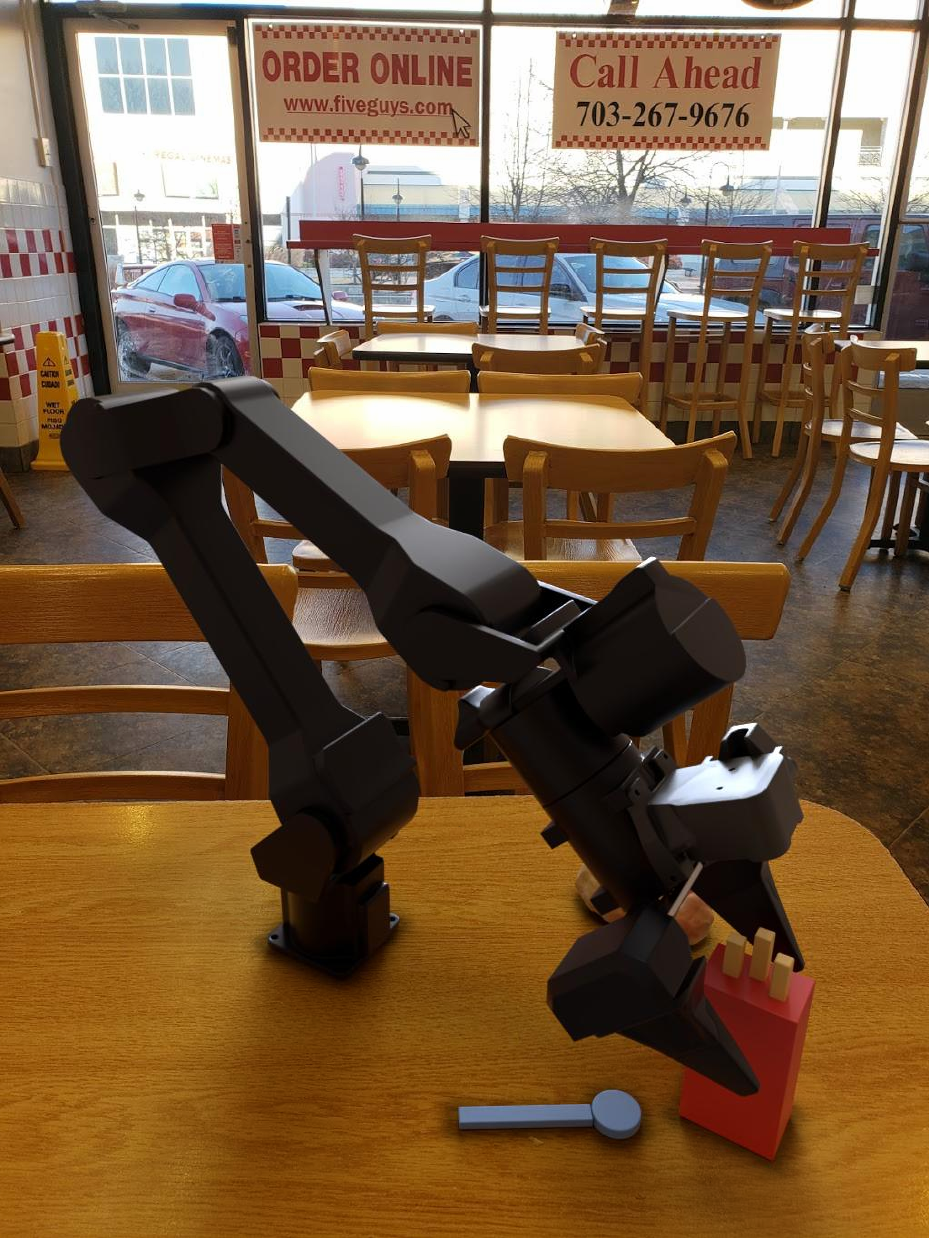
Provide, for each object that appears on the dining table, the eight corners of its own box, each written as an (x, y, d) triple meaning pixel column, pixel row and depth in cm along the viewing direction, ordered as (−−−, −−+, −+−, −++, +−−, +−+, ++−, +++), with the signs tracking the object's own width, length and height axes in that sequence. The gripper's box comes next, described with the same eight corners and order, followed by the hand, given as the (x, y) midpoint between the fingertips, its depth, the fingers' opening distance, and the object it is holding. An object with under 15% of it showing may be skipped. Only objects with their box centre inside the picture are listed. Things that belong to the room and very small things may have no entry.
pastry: (731, 921, 64) (738, 875, 63) (676, 971, 60) (682, 922, 59) (620, 861, 71) (624, 818, 69) (562, 902, 66) (565, 857, 65)
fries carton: (678, 1114, 50) (700, 939, 46) (700, 1071, 53) (723, 902, 48) (772, 1161, 47) (805, 981, 43) (791, 1113, 50) (823, 939, 46)
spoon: (459, 1143, 48) (459, 1134, 48) (457, 1100, 50) (457, 1092, 50) (645, 1139, 48) (646, 1130, 48) (634, 1096, 51) (635, 1088, 51)
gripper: (633, 790, 36) (893, 1135, 34) (760, 634, 51) (944, 870, 49) (454, 892, 42) (667, 1185, 41) (613, 727, 57) (773, 938, 56)
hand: (776, 1026), depth 47 cm, fingers open, 9 cm apart
